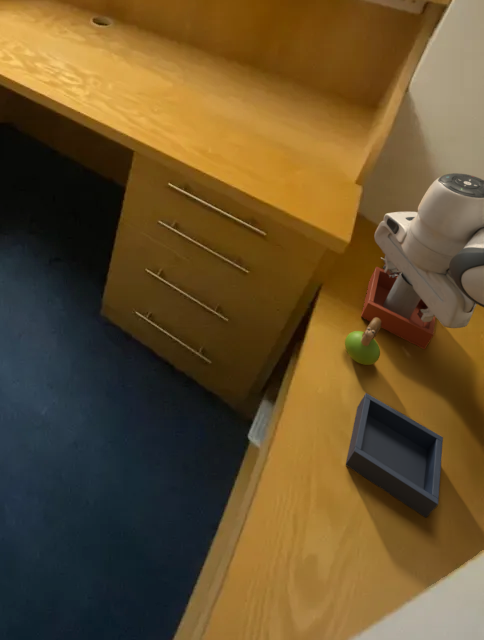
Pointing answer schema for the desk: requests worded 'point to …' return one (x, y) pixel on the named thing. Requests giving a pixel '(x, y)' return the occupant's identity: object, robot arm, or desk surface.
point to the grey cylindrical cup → (402, 298)
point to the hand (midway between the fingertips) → (406, 295)
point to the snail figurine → (364, 344)
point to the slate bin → (396, 454)
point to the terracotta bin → (391, 321)
